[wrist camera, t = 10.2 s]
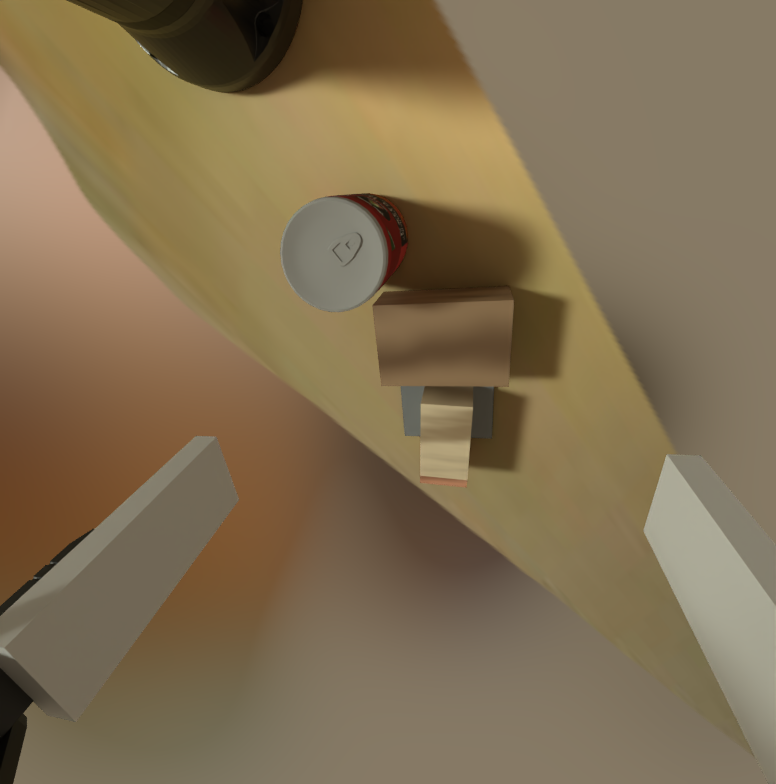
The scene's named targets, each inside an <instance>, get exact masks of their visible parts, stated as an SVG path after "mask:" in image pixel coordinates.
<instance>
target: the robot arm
mask: <svg viewBox="0 0 776 784" xmlns="http://www.w3.org/2000/svg"><path fill="white" fill-rule="evenodd" d="M67 1H69V2H72V3H74V4H76V5H78V6H81V7H83V8H85V9H87V10H90V11H92V12H94V13H96V14H98V15H101V16H103V17H105V18H108V19H110V20H112V21H114V22H117V23H118V24H119V25H120V26H121V27H123V28H124V29H125V30H126V31H127V32H128V33H129V34H130V35H131V36H132V37H133V38H134V39H135V40H136V41H137V42H138V44H139V45H140V46H141V47H142V48H143V49H144V50H145V51H146V52H147V53H148V54H149V55H150V56H151V57H152V58H153V59H154V60H155V61H156V62H157V63H158V64H159V65H161V66H162V67H163V68H164V69H166V70H167V71H169V72H170V73H172V74H173V75H175V76H177V77H178V78H180V79H182V80H184V81H186V82H189V83H191V84H194V85H197V86H200V87H202V88H205V89H209V90H212V91H218V92H235V91H240V90H244V89H247V88H249V87H252V86H254V85H255V84H257V83H259V82H260V81H262V80H263V79H264V78H266V77H267V76H268V75H269V74H270V73H271V72H272V71H273V70H274V69H275V68H276V66H277V65H278V64H279V63H280V61H281V60H282V58H283V57H284V55H285V53H286V51H287V50H288V48H289V46H290V43H291V41H292V39H293V36H294V34H295V31H296V28H297V24H298V21H299V17H300V12H301V7H302V0H67ZM238 500H239V499H238V496H237V493H236V490H235V487H234V485H233V482H232V479H231V476H230V473H229V471H228V468H227V465H226V462H225V460H224V457H223V454H222V451H221V448H220V446H219V443H218V440H217V437H208V436H196V437H194V439H192V440H191V441H190V442H189V443H188V444H187V445H186V446H185V447H184V448H183V449H181V450H180V451H179V452H178V453H177V454H176V455H175V456H174V457H173V458H172V459H171V460H169V461H168V462H167V463H166V464H165V465H164V466H163V467H162V468H161V469H160V470H159V471H158V472H156V473H155V474H154V475H153V476H152V477H151V478H150V479H149V480H148V481H147V482H146V483H144V484H143V485H142V486H141V487H140V488H139V489H138V490H137V491H136V492H135V493H134V494H132V495H131V496H130V497H129V498H128V499H127V500H126V501H125V502H124V503H123V504H122V505H120V507H118V508H117V509H116V510H115V511H114V512H113V513H112V514H111V515H110V516H109V517H108V518H106V519H105V520H104V521H103V522H102V523H101V524H100V525H99V526H98V527H97V528H95V529H92V530H91V531H89V532H87V533H86V534H84V535H83V536H81V537H79V538H78V539H76V540H75V541H73V542H72V543H70V544H69V545H68V546H67V547H66V548H65V549H63V550H62V551H61V552H60V553H59V554H58V555H57V556H56V557H54V558H53V559H52V560H51V561H50V564H49V565H45V566H44V567H43V568H42V569H41V570H40V571H39V572H38V573H37V574H36V575H34V578H33V580H29V581H28V582H27V583H26V584H25V585H23V586H22V587H21V588H20V589H19V590H18V591H17V592H15V593H14V594H13V595H12V596H11V597H10V598H9V599H8V600H7V601H5V602H4V603H3V604H2V605H1V606H0V784H13V782H14V778H15V773H16V769H17V765H18V761H19V757H20V753H21V749H22V745H23V741H24V737H25V732H26V729H27V717H26V716H25V715H24V714H23V713H24V711H25V710H26V709H27V708H28V707H29V705H30V704H31V703H32V702H34V703H36V704H37V705H38V707H40V708H41V710H43V711H44V712H45V713H46V714H47V715H48V716H53V717H57V718H61V719H65V720H70V721H74V722H76V721H77V720H78V718H79V717H80V716H81V714H82V713H83V712H84V710H85V709H86V707H87V706H88V705H89V703H90V702H91V701H92V699H93V698H94V697H95V695H96V694H97V692H98V691H99V690H100V688H101V687H102V686H103V684H104V683H105V681H106V680H107V679H108V678H109V676H110V675H111V673H112V672H113V671H114V669H115V668H116V667H117V665H118V664H119V663H120V661H121V660H122V658H123V657H124V656H125V654H126V653H127V652H128V650H129V649H130V648H131V646H132V645H133V643H134V642H135V641H136V639H137V638H138V637H139V635H140V634H141V633H142V631H143V630H144V628H145V627H146V626H147V624H148V623H149V622H150V620H151V619H152V617H153V616H154V615H155V614H156V612H157V611H158V609H159V608H160V607H161V605H162V604H163V602H164V601H165V600H166V599H167V597H168V596H169V594H170V593H171V592H172V590H173V589H174V588H175V586H176V585H177V584H178V582H179V581H180V579H181V578H182V577H183V575H184V574H185V572H186V571H187V570H188V569H189V567H190V566H191V564H192V563H193V562H194V560H195V559H196V558H197V556H198V555H199V553H200V552H201V551H202V549H203V548H204V547H205V545H206V544H207V543H208V541H209V540H210V539H211V537H212V536H213V534H214V533H215V532H216V530H217V529H218V527H219V526H220V525H221V524H222V522H223V521H224V519H225V518H226V517H227V515H228V514H229V513H230V511H231V510H232V508H233V507H234V506H235V505H236V503H237V502H238ZM644 533H645V535H646V537H647V539H648V541H649V543H650V545H651V547H652V549H653V551H654V553H655V555H656V557H657V559H658V561H659V563H660V565H661V567H662V569H663V571H664V573H665V575H666V578H667V580H668V582H669V584H670V586H671V588H672V590H673V592H674V594H675V596H676V598H677V600H678V602H679V604H680V606H681V608H682V610H683V612H684V614H685V616H686V618H687V620H688V622H689V624H690V626H691V628H692V630H693V632H694V634H695V636H696V638H697V640H698V642H699V645H700V647H701V649H702V651H703V653H704V655H705V657H706V659H707V661H708V663H709V665H710V667H711V669H712V671H713V673H714V675H715V677H716V679H717V681H718V683H719V685H720V687H721V689H722V691H723V693H724V695H725V697H726V699H727V701H728V703H729V705H730V707H731V709H732V712H733V714H734V716H735V718H736V720H737V722H738V724H739V726H740V728H741V730H742V732H743V734H744V736H745V738H746V740H747V742H748V744H749V746H750V748H751V750H752V752H753V754H754V756H755V758H756V760H757V762H758V764H759V766H760V768H761V770H762V772H763V774H764V776H765V779H766V781H767V783H768V784H776V544H775V543H774V542H773V541H772V540H771V538H770V537H769V536H768V535H767V534H766V533H765V531H764V530H763V529H762V528H761V527H760V525H759V524H758V523H757V522H756V521H755V519H754V518H753V517H752V516H751V515H750V513H749V512H748V511H747V510H746V509H745V508H744V506H743V505H742V504H741V503H740V502H739V501H738V499H737V498H736V497H735V496H734V494H733V493H732V492H731V491H730V490H729V488H728V487H727V486H726V485H725V484H724V482H723V481H722V480H721V479H720V478H719V477H718V475H717V474H716V473H715V472H714V471H713V469H712V468H711V467H710V466H709V465H708V464H707V462H706V461H705V460H704V459H703V458H702V456H695V455H671V454H667V456H666V459H665V462H664V465H663V469H662V472H661V475H660V478H659V482H658V485H657V488H656V492H655V495H654V498H653V501H652V505H651V508H650V511H649V514H648V518H647V521H646V524H645V527H644Z"/></svg>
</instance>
